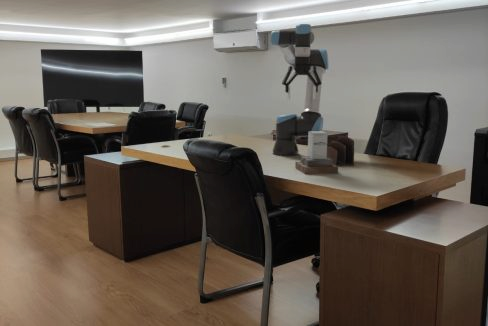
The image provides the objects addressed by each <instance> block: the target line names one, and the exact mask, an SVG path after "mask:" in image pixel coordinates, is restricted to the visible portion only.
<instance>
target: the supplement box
mask: <svg viewBox="0 0 488 326" xmlns="http://www.w3.org/2000/svg"><path fill="white" fill-rule="evenodd" d="M307 138H308V139H307V155H306V156H307V157H309V158H310V159H326V157H327V146H328V132H326V131H323V130H322V131H309V132H308V137H307Z"/></svg>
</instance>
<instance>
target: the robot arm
mask: <svg viewBox="0 0 488 326" xmlns="http://www.w3.org/2000/svg"><path fill="white" fill-rule="evenodd" d="M314 42H315V34H314V33H313V31H312V26H311V24H309V23H298V24H296V25H295V29H290V30H289V29H287V30H286V29H282V30H281V29H280V30H279V29H278V30H272V31H271V33H270V44H271V45H272V46H278V47H279V48H280V50H281V52H282V54H283V55H284V60H285V62H286V63H287V64H288V65H289V66H288V68H287V69H288V70H287V72H286V73H285V76H284V78H283V80H282V82H281V85H283V86H285V87H284V88H285V89H284V91H285V93H287V94H286V99H287V100H291V86H290V84H291V83H292V82H293V81H294V80H295V78H296V77H297V76H306V77H307V79H306V86H305V87H306V88H305V98H304V108H303V111H301V113H300V116H298V114H297V113H288V114H282V115H278V116H277V117H276V122H275V142H274V145H273V148H272V155H276V156H287V157H288V156H290V157H291V156H297V155H299V152H300V151H299V147H298V143H297V138H298V137H299V138H300V137H301V138H308V132H309V131H323V127H324V117H323V116H322V114H321V112H320V106H321V103H320V102H321V95H322V94H321V92H322V82H323V75H324V74H326V70H327V71H328V70H329V56H328V50H326V49H323V48H322V49H321V48H318V49H317V48H315V49H311V45H312V43H314ZM293 70H294V72H293V74H292V71H293ZM291 74H292V75H291ZM289 77H290V78H289Z"/></svg>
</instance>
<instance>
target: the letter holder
mask: <svg viewBox="0 0 488 326" xmlns="http://www.w3.org/2000/svg"><path fill="white" fill-rule="evenodd" d="M327 158H330V159H332V160H333V165H335V166H337V167H354V166H355V140H354V139H352V138H351V137H348V136H345V135H339V136H338V137H337V141H334V140H333V141H330V144H329V146H328V145H327Z"/></svg>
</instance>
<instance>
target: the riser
mask: <svg viewBox="0 0 488 326" xmlns="http://www.w3.org/2000/svg"><path fill="white" fill-rule="evenodd" d="M307 156H308V155H305V156H304V155H303V156H301V155H300V161H295V167H294V168H295V169H296V170H298V171H300V172H301V173H303V174H304V175H317V174H318V175H319V174H320V175H324V174H325V175H326V174H327V175H328V174H330V173H331V174H339V166H335V165H333V160H332V159H330V158H327V157H326V159H310V158H309V157H307Z"/></svg>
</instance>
